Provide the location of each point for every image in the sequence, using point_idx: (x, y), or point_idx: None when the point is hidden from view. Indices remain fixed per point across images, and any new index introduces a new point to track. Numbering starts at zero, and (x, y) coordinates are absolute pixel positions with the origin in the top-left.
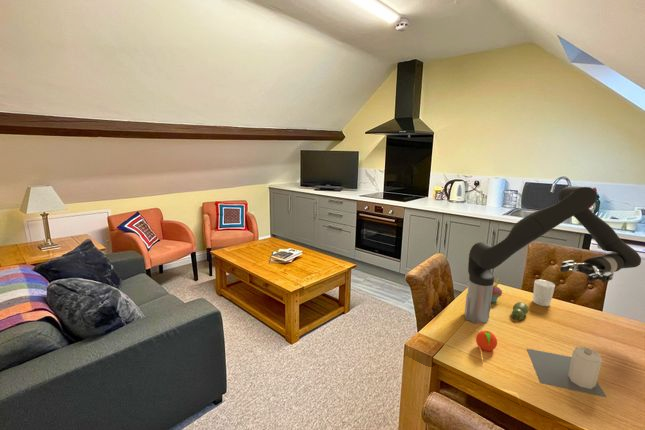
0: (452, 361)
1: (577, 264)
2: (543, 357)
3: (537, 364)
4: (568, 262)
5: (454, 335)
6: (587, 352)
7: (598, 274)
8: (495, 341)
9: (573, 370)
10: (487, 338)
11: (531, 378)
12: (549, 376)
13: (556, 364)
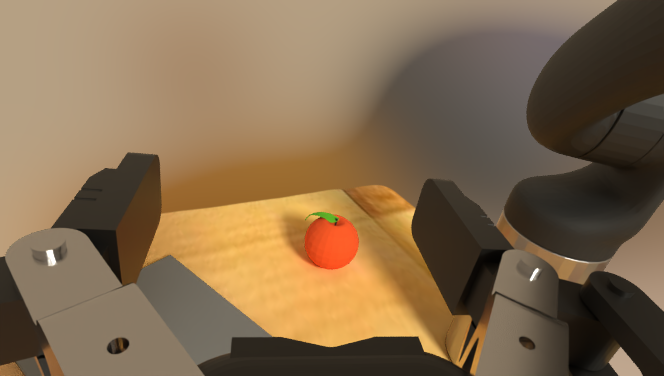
0: (315, 197)
1: (487, 318)
2: (219, 347)
3: (211, 303)
4: (646, 355)
5: (397, 248)
6: None
7: (39, 238)
8: (310, 234)
9: None
10: (318, 212)
11: (194, 261)
12: (164, 288)
13: None
